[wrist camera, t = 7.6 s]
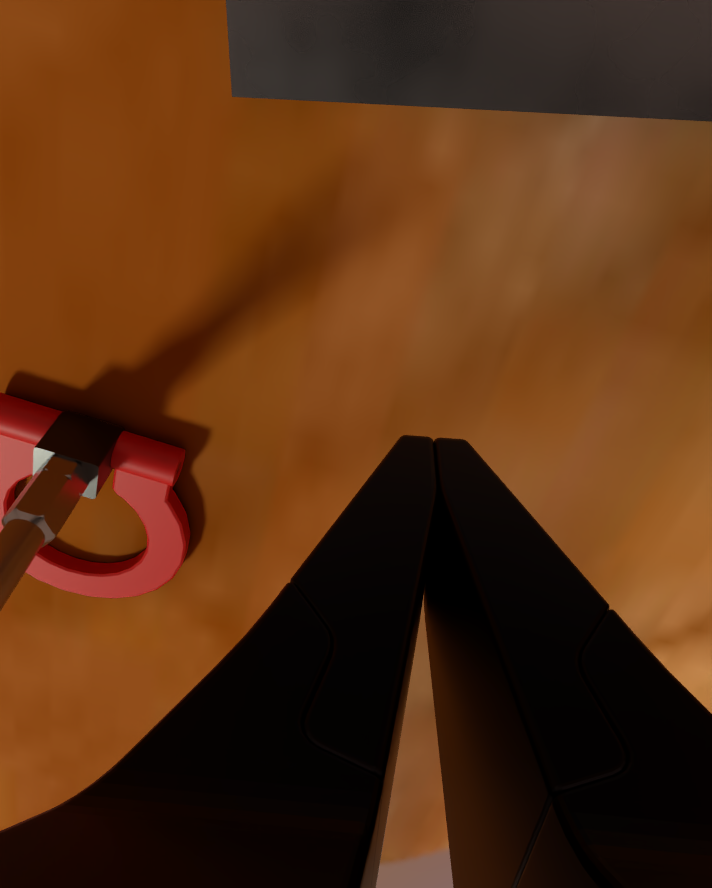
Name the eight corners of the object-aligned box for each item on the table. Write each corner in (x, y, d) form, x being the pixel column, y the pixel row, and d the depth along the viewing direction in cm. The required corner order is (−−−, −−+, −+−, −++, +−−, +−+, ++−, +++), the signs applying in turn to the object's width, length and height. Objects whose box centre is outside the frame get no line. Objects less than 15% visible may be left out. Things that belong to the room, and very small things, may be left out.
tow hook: (176, 598, 30) (215, 445, 24) (41, 949, 19) (53, 827, 14) (-16, 545, 29) (-22, 372, 23) (-264, 885, 18) (-386, 725, 13)
